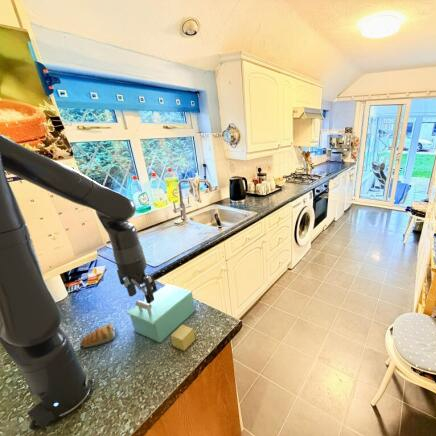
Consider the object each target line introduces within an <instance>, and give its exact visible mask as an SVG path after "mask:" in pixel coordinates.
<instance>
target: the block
mask: <svg viewBox="0 0 436 436" xmlns="http://www.w3.org/2000/svg"><path fill="white" fill-rule="evenodd" d="M170 338H171V342H172V347H174V348H177V349H179V350H181V351H183V352H185V351H186V350H187V349H188V348H189V347H190V346H191V345H192V343H194V342H195V340H196V336H195V331H194V328H192V327H190V326H187V325H185V324H180V325H179V326H178V327H177V328H176V329H175V330H174V331H173V332H171V333H170Z"/></svg>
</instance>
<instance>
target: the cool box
mask: <svg viewBox="0 0 436 436" xmlns="http://www.w3.org/2000/svg"><path fill="white" fill-rule="evenodd" d="M195 311H196V308H195V303H194V297H193V292H192V293H191V294H190V295H189V296H188V297H186V298H185V299H184V300H183V301H181V302H180V303H179V304H178V305H177V306H175V307H174V308H173V309H172V310H170V311H169V312H168V313H167V314H166V315H164V316H163V317H162V318H161V319H159V320H158V321H157V322H156V323H155V324H153V325H152V324H149V323H147V322H145V321H142V320H140V319H138V318H135V317H133V316H131V315H129V316H130V320H131V322H132V326H133V329H134V332H136V333H138V334H140V335H142V336H144V337H147V338H148V339H151V340H153V341H155V342H158V343H161V342H163V341H164V340H165V339H166V338H167V337H168V336H169V335H171V334H172V333H173V332H174V331H175V330H177V329H178V328H179V327H180V326H181V325H182V323H184V322H185V321H186V320H187V319H188V318H189V317H190V316H191V315H192V314H193V313H195Z"/></svg>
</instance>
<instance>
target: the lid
mask: <svg viewBox="0 0 436 436" xmlns="http://www.w3.org/2000/svg"><path fill="white" fill-rule="evenodd" d="M191 293H192V294H193V292H192V291H191V290H189V289H185V288H182V287H179V286H177V285H173V284H170V283H166V284H165V285H163V287H161V288H159V289H157V291H155V292H154V293H153V296H154V301H152V302H151V303H150V304H149V303H147V301H146V298H145V299H143V300H136V302H135V305H134V307H132V308H131V309H129V310H128V311H126V314H127V315H128V316H130V315H131V316H133V317H135V318H138V319H140V320H142V321H145V322H147V323H149V324H152V325H153V324H155V323H156V322H157V321H158V320H159V319H161V318H162V317H163V316H164V315H166V314H167V313H168V312H169V311H170V310H172V309H173V308H174V307H175V306H177V305H178V304H179V303H180V302H181V301H183V300H184V299H185V298H186V297H188V296H189V295H190V294H191ZM131 316H130V317H131Z"/></svg>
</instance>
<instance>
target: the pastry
mask: <svg viewBox="0 0 436 436" xmlns="http://www.w3.org/2000/svg"><path fill="white" fill-rule="evenodd" d="M115 330H116V329H115V326H114V325H113V324H112V323H109V324H107V325H103V326H100V327H98V328H97V329H95V330H93V331H92V332H90V333H88V334H87V335H85V336H84V337H82V339H81V341H80V346H82V347H83V348H90V347H95V346H100V345H102V344H105V343H107V342H110V341H112V340H114V339H115V337H116V332H115Z"/></svg>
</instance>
